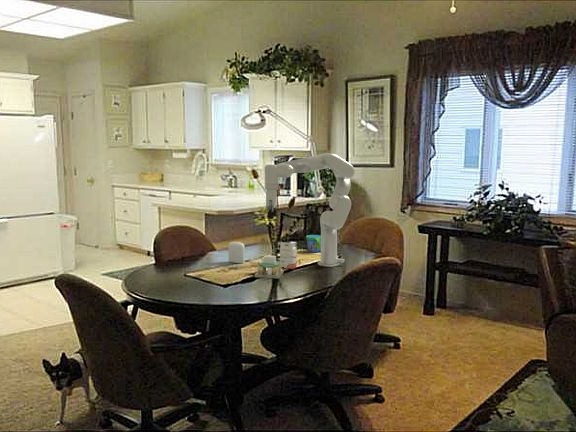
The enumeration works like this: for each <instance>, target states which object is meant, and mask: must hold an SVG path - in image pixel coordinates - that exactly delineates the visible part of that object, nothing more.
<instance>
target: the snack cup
mask: <svg viewBox="0 0 576 432" xmlns="http://www.w3.org/2000/svg"><path fill="white" fill-rule="evenodd" d="M305 239H306V243H307V245H306V246H307V250H308V252H310V253H319V252H321V234H320V235H319V234H308V235H306V236H305Z"/></svg>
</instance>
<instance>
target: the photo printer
mask: <svg viewBox="0 0 576 432" xmlns="http://www.w3.org/2000/svg"><path fill="white" fill-rule="evenodd" d="M227 247H228V249H227V250H228V262H229V263H236V264H245V262H246V261H245V260H246V259H245V258H246V255H245V252H246V250H245V248H246V247H245V243H243V242H240V241H231V242H229V243H228V246H227Z"/></svg>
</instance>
